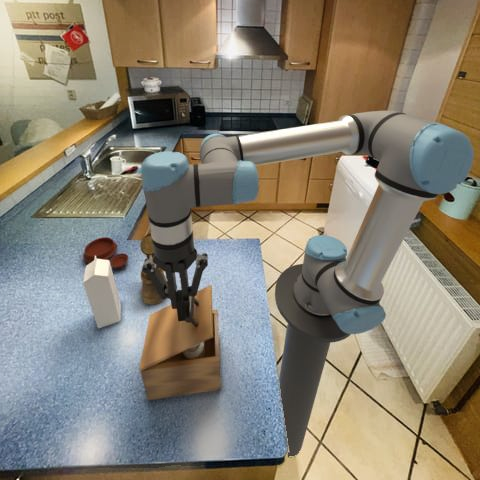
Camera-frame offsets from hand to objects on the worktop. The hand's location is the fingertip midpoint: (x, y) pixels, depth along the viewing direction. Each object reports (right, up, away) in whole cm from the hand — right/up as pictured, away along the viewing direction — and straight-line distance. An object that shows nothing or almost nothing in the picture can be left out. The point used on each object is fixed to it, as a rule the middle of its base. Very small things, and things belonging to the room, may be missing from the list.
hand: (182, 315), depth 57 cm
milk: (-27, -13, +20) cm, 35 cm away
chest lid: (-1, -3, +1) cm, 4 cm away
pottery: (-38, -3, +40) cm, 55 cm away
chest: (-1, -18, +8) cm, 20 cm away
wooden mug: (-16, -9, +29) cm, 34 cm away
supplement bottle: (+1, -17, +8) cm, 19 cm away
